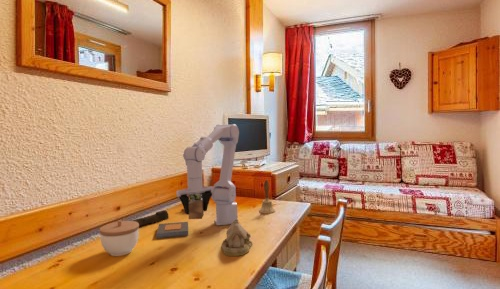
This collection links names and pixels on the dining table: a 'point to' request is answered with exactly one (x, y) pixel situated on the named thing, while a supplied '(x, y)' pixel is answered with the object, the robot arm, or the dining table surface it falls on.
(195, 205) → the taupe wooden cube
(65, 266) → the dining table surface
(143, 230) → the dining table surface
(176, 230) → the grey square picture frame
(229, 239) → the ceramic model
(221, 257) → the dining table surface
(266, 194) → the hand bell
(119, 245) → the lidded bowl
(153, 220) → the hand tool
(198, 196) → the green leafy plant
